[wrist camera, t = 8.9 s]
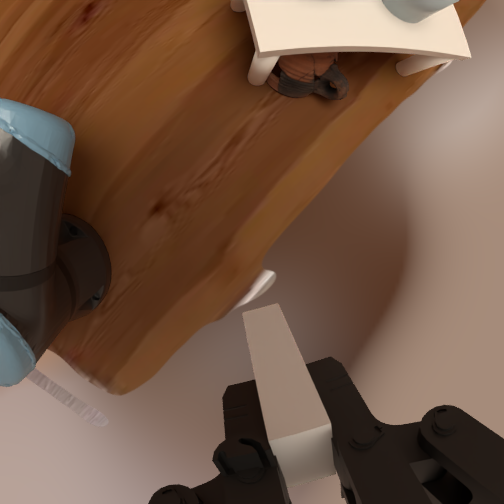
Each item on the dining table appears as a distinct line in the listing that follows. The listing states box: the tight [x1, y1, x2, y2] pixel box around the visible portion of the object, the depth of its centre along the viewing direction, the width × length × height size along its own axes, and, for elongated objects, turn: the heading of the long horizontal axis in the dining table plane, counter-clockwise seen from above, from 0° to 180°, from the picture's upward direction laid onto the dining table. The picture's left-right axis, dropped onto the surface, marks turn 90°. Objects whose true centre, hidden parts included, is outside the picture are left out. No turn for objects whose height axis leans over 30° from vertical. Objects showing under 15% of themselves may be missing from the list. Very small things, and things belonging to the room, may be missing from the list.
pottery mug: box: [267, 52, 349, 100], centre depth 33 cm, size 12×10×8 cm
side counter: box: [230, 0, 471, 86], centre depth 27 cm, size 25×14×14 cm, turn 102°
